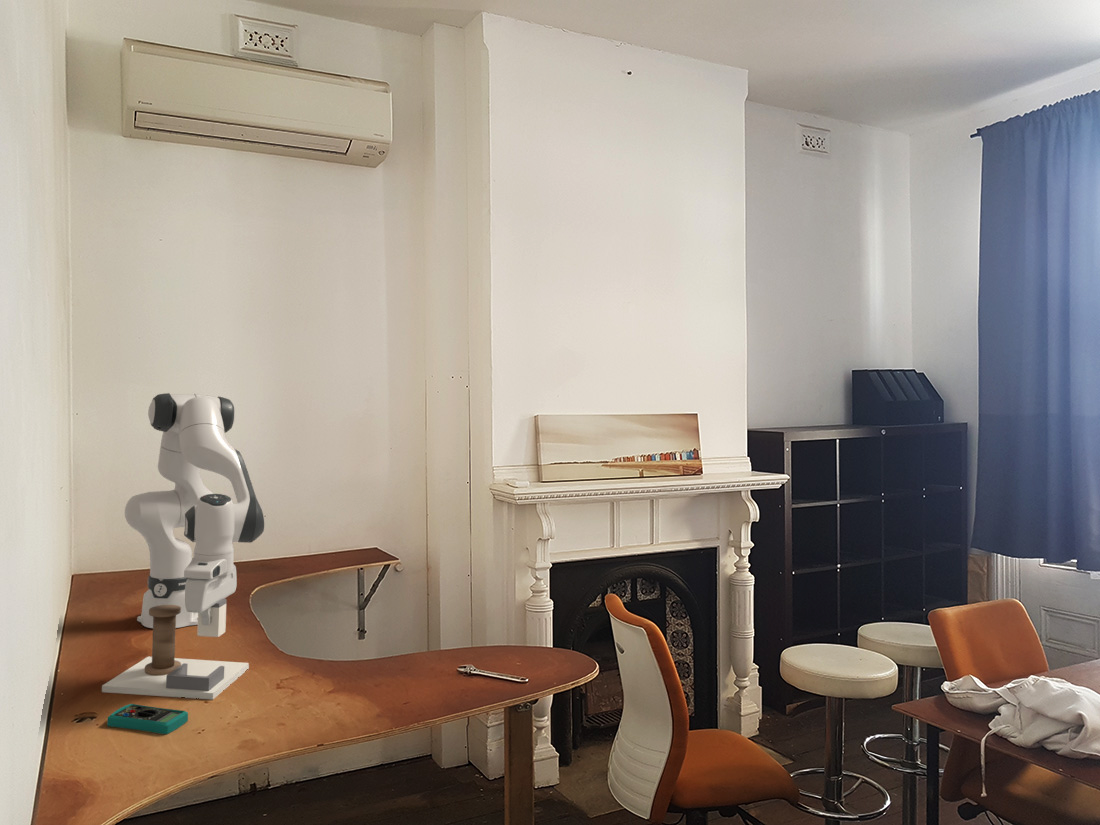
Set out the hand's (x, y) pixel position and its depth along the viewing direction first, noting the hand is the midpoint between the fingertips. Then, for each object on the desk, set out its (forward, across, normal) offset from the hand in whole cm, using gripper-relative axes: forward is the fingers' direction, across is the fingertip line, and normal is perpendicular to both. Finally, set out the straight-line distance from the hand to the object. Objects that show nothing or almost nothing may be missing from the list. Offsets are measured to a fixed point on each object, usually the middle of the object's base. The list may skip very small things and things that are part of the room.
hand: (211, 621), depth 194 cm
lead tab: (+3, 0, 0) cm, 3 cm away
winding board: (+15, -2, -8) cm, 18 cm away
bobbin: (+14, -4, -13) cm, 20 cm away
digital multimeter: (+16, +22, -3) cm, 28 cm away
